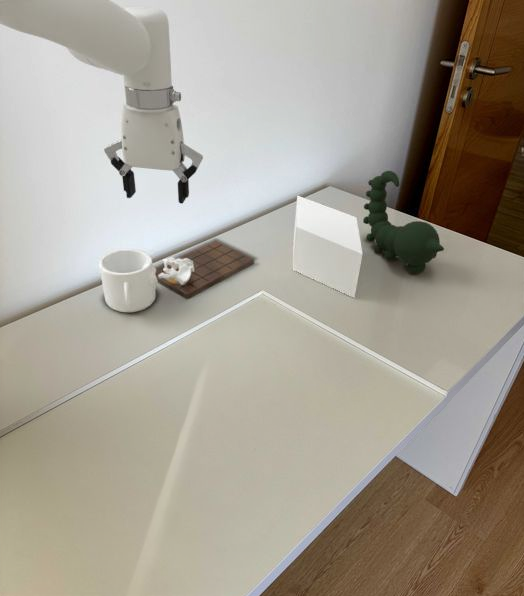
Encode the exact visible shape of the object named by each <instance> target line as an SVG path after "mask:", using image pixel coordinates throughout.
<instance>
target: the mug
mask: <svg viewBox="0 0 524 596" xmlns="http://www.w3.org/2000/svg"><path fill="white" fill-rule="evenodd" d="M98 267H99V273H100V279H101V285H102V291H103V296H104V300H105V303H106V305H107V306H108V307H109V308H111V309H112V310H114V311H117V312H121V313H137V312H140V311H143V310H145V309H147V308H149V307H150V306H151V305H152V304H153V303H154V302H155V300H156V290H157V286H156V285H157V284H158V280H157V277H156V275H155V273H156V268H157V267H155V265H154V264H153V258H152V256H151V255H150V254H149V253H147V252H146V251H143V250H140V249H135V248H122V249H116V250H112V251H110V252H107V253H106V254H104V255H103V256H102V257H100V259H99V262H98Z"/></svg>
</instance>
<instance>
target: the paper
mask: <svg viewBox="0 0 524 596" xmlns="http://www.w3.org/2000/svg"><path fill="white" fill-rule="evenodd" d="M357 218H358V217H357V216H354V215H351V214H348V213H346V212H343V211H340V210H338V209H335V208H332V207H330V206H326V205H324V204H321V203H319V202H316V201H313V200H311V199H308V198H305V197H302V196H300V195H297V196H296V206H295V216H294V227H293V243H294V244H293V243H292V244H293V245H292V246H293V247H292V266H291V267H292V269H291V270H292V271H294V272H296V271H297V272H296V273H298V272H299V274H300V273H301V275H303V276H305V277H307V278H309V279H311V280H313V279H314V281H315V282H318V283H320V284H322V283H323V284H322V285H324V284H325V286H326V285H327V287H329V288H331V289H333V288H334V289H333V290H335V289H336V290H335V291H337V290H338V291H337V292H339V291H340V292H339V293H341V294H344V293H345V294H344V295H346V294H347V295H346V296H348V295H349V297H350V296H351V297H350V298H352V297H353V298H352V299H355V298H356V292H357V286H358V281H359V275H360V270H361V265H362V260H363V259H362V258H363V249H362V243H361V236H360V231H359V223H358V219H357Z"/></svg>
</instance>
